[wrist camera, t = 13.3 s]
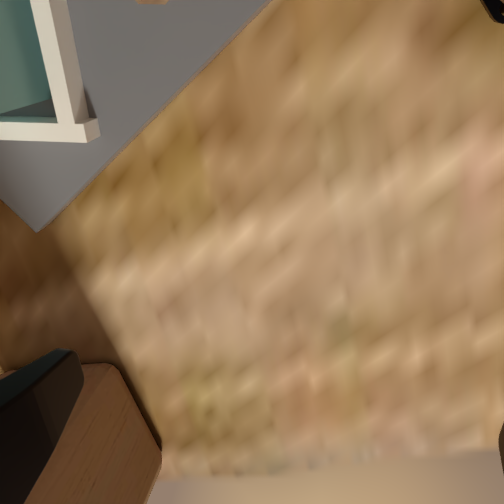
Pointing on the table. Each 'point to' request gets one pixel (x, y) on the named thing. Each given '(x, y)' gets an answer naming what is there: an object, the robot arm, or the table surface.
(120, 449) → the wooden block
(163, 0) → the walnut base slab
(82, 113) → the baseboard
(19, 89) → the teal post
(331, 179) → the table surface
